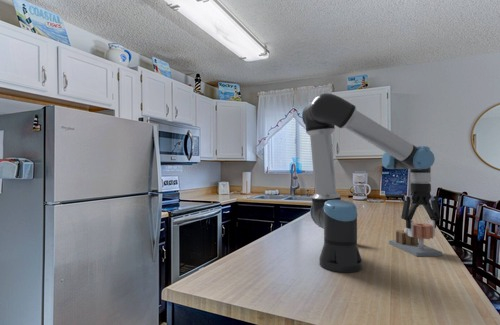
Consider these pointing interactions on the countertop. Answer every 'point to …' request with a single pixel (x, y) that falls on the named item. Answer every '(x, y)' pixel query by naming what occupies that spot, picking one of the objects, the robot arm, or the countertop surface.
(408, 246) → the gear board
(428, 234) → the gear
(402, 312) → the countertop surface
